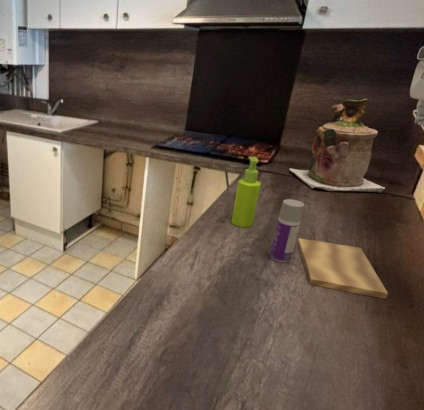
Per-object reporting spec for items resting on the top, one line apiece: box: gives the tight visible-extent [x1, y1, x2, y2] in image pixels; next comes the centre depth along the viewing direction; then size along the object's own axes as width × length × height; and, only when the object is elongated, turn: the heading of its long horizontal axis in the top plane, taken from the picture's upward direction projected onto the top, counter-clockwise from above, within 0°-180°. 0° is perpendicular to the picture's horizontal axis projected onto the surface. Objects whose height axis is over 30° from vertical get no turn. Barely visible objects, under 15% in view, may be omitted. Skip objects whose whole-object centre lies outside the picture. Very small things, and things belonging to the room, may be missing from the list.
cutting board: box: [297, 237, 389, 300], centre depth 85 cm, size 14×20×2 cm
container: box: [269, 198, 305, 263], centre depth 87 cm, size 5×5×15 cm
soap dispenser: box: [230, 156, 262, 228], centre depth 104 cm, size 6×7×20 cm
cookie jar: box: [288, 98, 386, 194], centre depth 134 cm, size 25×25×32 cm
